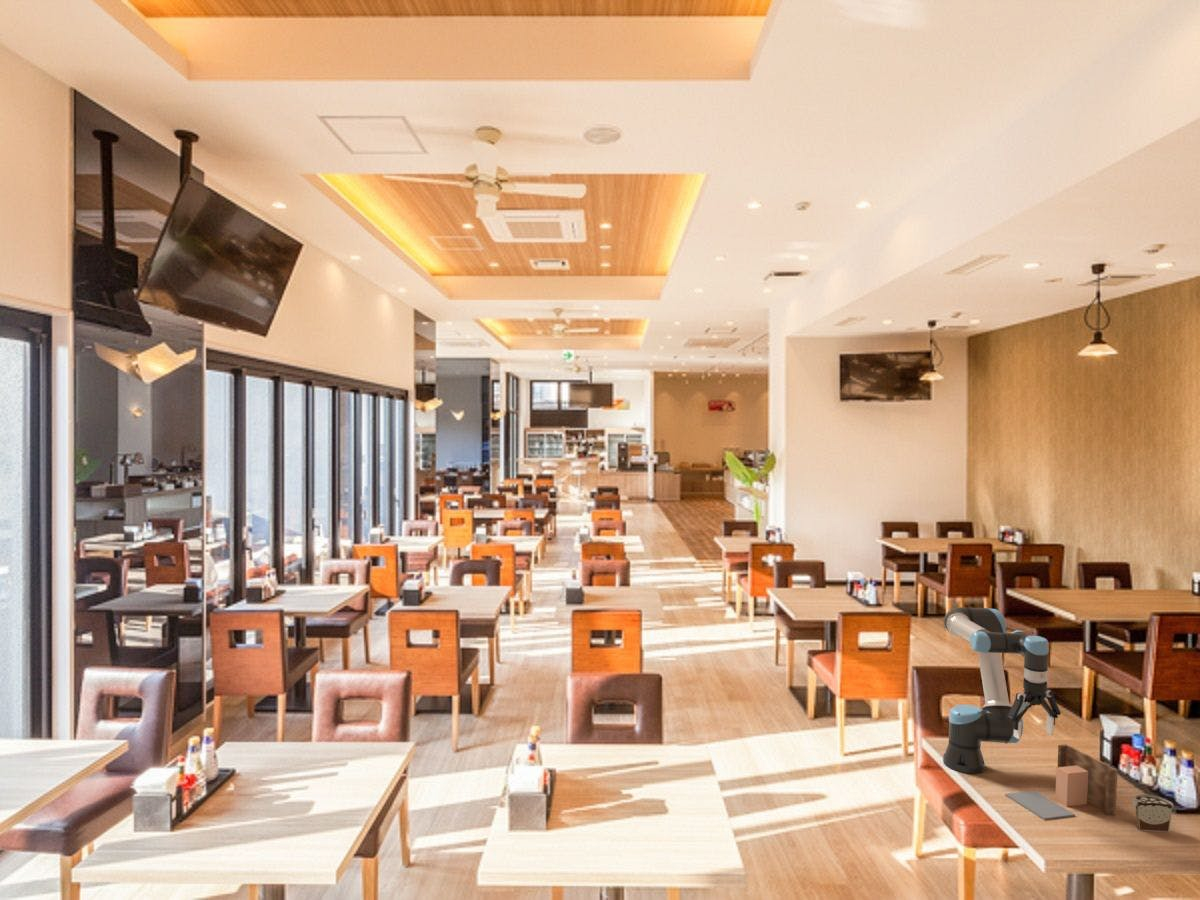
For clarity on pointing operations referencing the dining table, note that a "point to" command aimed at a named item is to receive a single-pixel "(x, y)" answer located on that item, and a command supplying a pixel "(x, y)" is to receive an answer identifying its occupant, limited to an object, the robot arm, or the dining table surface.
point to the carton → (1071, 785)
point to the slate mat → (1039, 805)
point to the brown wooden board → (1093, 777)
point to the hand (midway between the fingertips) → (1033, 735)
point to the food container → (1153, 813)
